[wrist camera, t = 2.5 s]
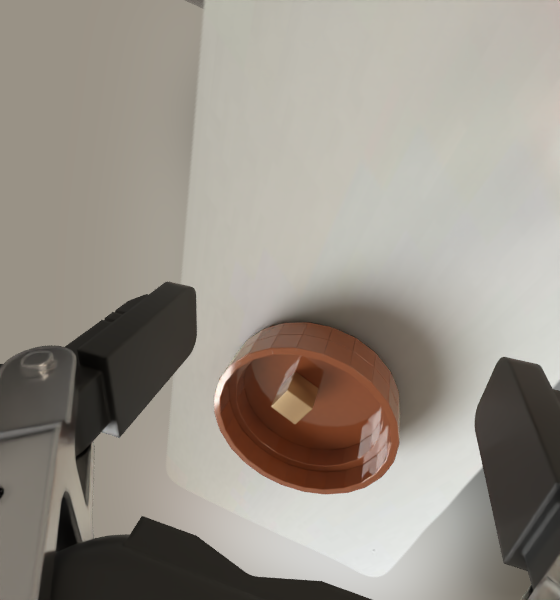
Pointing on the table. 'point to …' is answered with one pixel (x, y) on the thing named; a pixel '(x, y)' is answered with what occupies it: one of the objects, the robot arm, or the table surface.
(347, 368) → the bowl
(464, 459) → the table surface
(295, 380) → the block
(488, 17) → the table surface
